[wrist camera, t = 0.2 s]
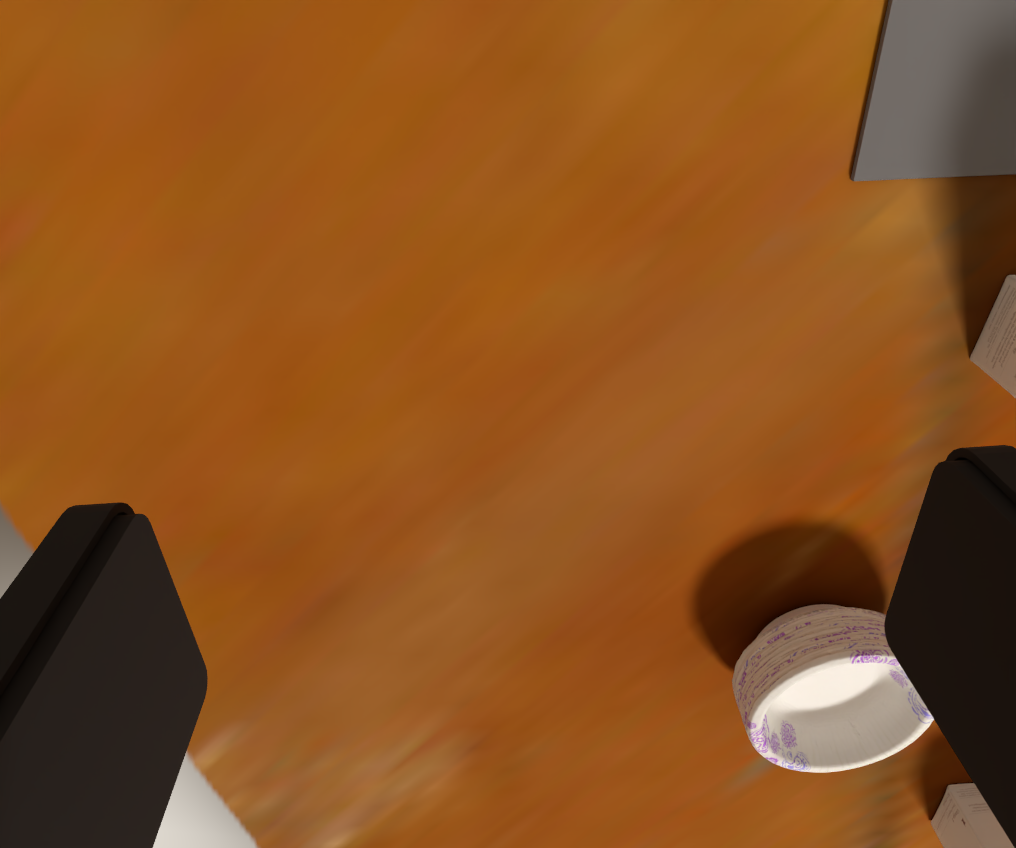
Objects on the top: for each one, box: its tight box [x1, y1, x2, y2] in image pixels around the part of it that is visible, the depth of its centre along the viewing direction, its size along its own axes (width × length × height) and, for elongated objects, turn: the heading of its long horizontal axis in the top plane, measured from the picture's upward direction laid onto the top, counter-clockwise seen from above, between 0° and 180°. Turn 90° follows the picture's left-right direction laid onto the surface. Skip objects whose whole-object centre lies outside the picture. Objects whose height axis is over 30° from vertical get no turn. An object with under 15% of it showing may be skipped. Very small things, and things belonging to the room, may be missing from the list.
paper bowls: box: [732, 604, 934, 772], centre depth 61 cm, size 15×15×8 cm
